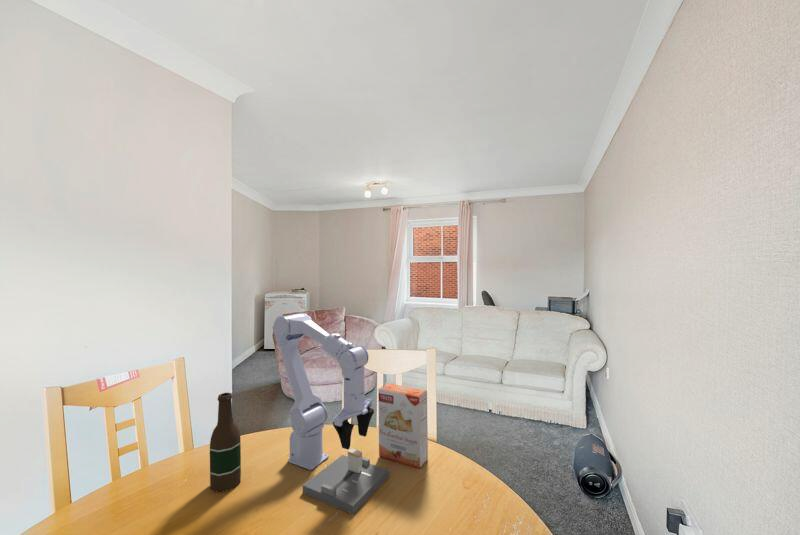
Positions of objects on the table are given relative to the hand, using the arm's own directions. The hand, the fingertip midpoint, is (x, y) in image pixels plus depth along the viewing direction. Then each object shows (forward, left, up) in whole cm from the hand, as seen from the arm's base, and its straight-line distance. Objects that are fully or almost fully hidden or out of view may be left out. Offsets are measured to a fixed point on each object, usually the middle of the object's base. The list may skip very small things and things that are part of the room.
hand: (354, 441), depth 93 cm
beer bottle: (-29, -19, -10) cm, 36 cm away
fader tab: (0, 0, -8) cm, 8 cm away
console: (0, -4, -10) cm, 11 cm away
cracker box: (+7, +14, -10) cm, 19 cm away
